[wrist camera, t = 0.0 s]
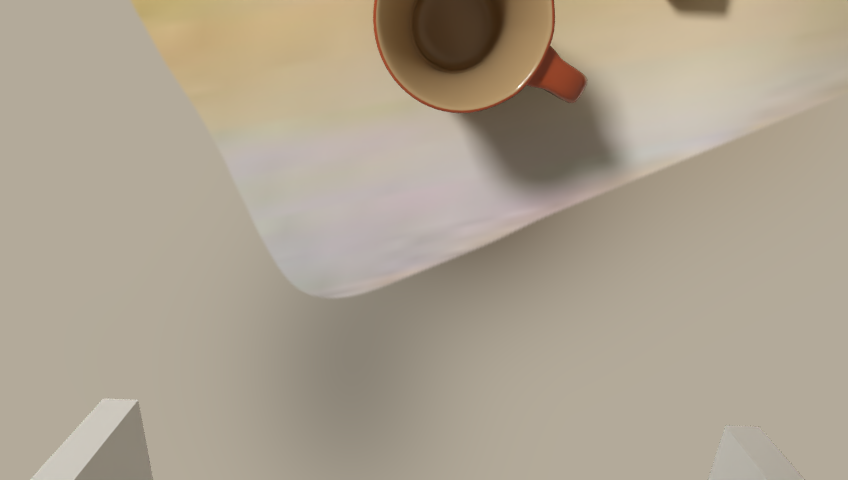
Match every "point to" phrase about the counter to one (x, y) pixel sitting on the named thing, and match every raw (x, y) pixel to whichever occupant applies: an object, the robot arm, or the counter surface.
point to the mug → (472, 51)
